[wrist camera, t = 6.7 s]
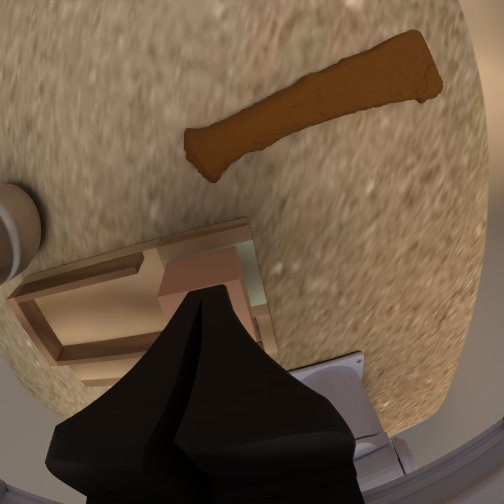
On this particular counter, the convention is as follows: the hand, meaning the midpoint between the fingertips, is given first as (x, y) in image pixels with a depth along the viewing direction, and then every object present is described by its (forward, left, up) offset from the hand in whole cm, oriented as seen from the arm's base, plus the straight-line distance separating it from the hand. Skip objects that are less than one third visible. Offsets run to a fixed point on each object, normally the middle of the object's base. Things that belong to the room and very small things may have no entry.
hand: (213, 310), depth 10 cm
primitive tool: (+7, -9, -11) cm, 16 cm away
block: (-4, +1, -8) cm, 9 cm away
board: (-7, +8, -10) cm, 14 cm away
